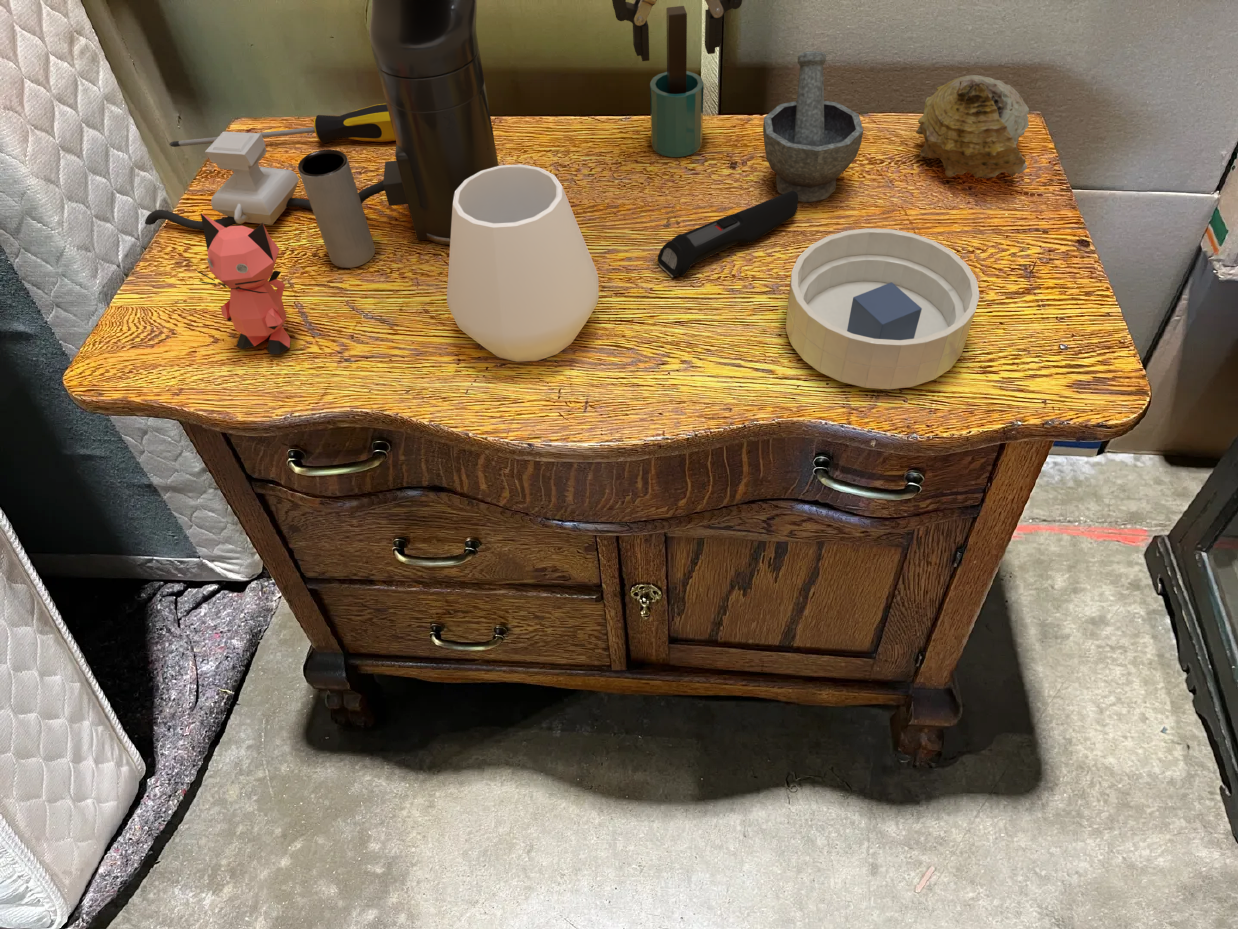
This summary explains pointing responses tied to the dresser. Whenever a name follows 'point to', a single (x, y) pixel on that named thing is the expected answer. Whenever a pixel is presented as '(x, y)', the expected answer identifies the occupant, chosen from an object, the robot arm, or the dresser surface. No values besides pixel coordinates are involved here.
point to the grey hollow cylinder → (337, 207)
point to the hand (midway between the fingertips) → (677, 53)
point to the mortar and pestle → (811, 136)
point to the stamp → (249, 180)
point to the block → (884, 314)
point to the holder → (676, 116)
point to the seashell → (975, 127)
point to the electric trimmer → (726, 233)
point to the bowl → (867, 264)
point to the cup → (518, 264)
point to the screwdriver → (335, 127)
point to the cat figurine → (248, 282)
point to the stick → (676, 49)
